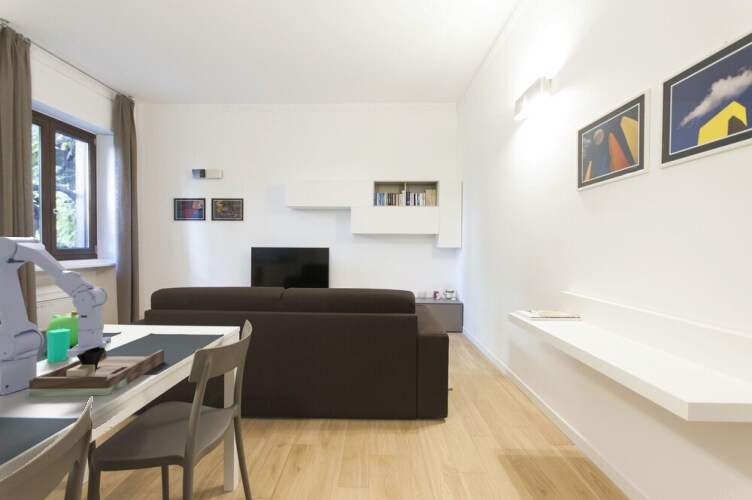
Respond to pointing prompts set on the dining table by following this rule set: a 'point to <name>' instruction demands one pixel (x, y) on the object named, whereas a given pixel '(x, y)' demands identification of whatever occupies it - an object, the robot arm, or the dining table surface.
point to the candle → (58, 344)
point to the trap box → (106, 380)
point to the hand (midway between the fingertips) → (90, 373)
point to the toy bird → (66, 325)
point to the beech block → (81, 371)
